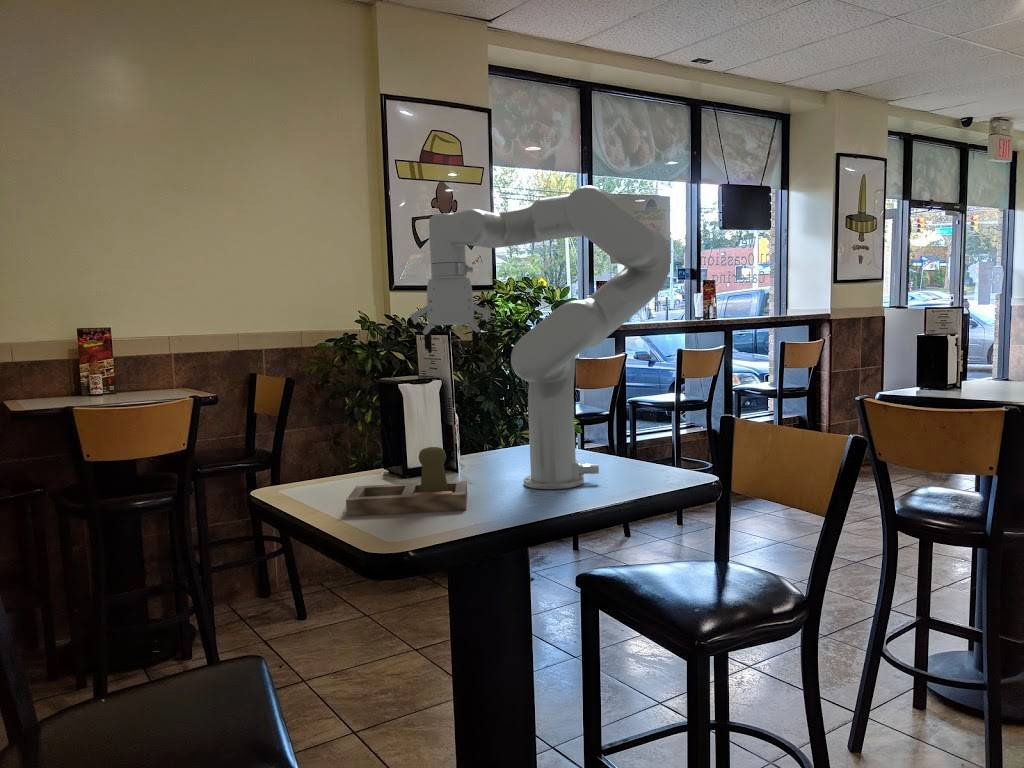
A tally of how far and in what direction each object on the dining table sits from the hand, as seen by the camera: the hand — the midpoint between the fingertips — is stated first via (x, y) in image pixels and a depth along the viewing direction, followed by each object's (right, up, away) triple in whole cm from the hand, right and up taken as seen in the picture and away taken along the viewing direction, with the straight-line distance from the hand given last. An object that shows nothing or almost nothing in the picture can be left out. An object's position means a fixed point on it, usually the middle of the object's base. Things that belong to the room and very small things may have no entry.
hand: (452, 351), depth 173 cm
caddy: (-7, -30, -20) cm, 37 cm away
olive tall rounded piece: (-2, -30, -20) cm, 36 cm away
